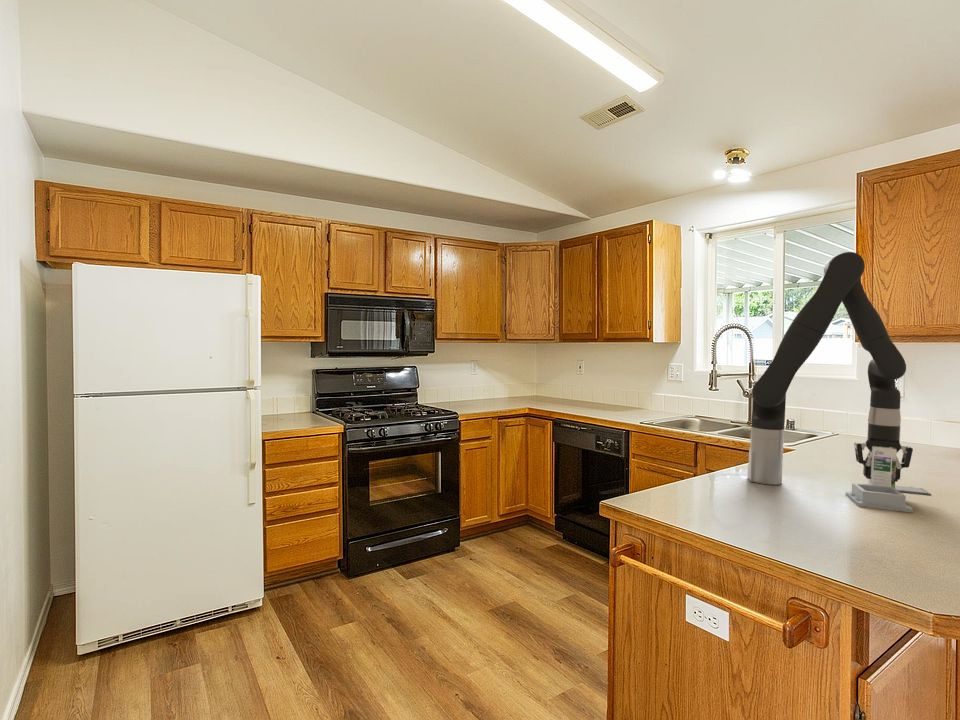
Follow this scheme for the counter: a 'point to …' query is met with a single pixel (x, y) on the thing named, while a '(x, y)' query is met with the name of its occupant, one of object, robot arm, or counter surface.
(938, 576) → the counter surface
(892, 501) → the grey square socket
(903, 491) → the slab
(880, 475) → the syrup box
